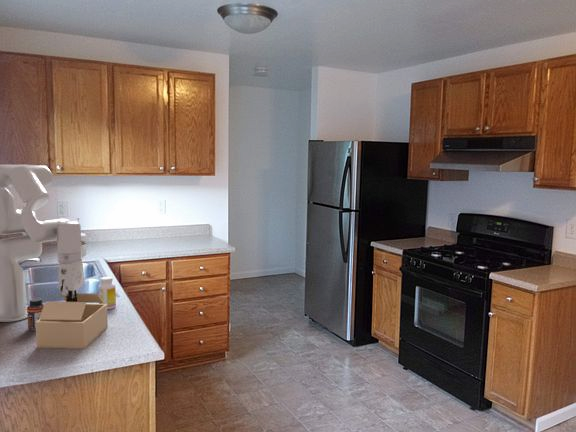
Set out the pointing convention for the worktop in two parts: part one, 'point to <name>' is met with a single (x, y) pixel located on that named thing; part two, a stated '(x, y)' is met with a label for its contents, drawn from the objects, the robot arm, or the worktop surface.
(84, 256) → the french press
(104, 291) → the supplement bottle
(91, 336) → the carton
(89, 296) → the back flap
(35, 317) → the supplement bottle
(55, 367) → the worktop surface
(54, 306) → the front flap
